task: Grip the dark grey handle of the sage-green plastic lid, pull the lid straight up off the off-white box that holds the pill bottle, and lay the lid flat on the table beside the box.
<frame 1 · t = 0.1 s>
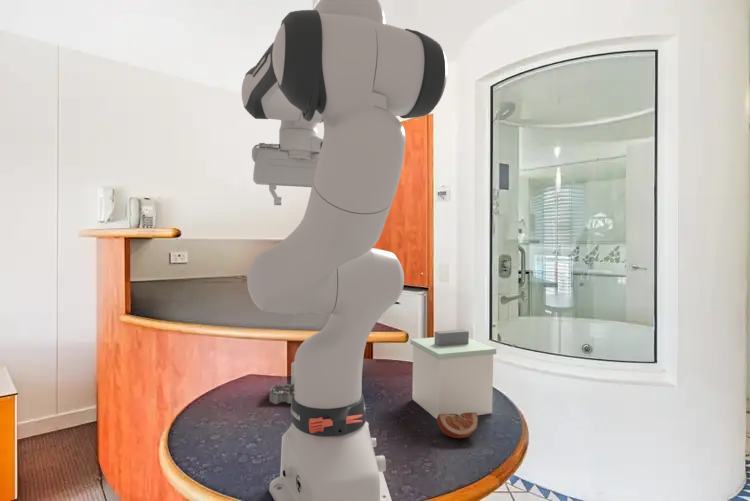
hand: (298, 206, 98), 48 cm above the table, fingers open, 8 cm apart
fruit slice: (457, 438, 87), on the table
lid: (451, 348, 103), point 14 cm above the table, touching box
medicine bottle: (309, 387, 116), on the table
pill bottle: (450, 406, 103), resting in box
box: (450, 405, 103), on the table
egg carton: (291, 400, 107), on the table
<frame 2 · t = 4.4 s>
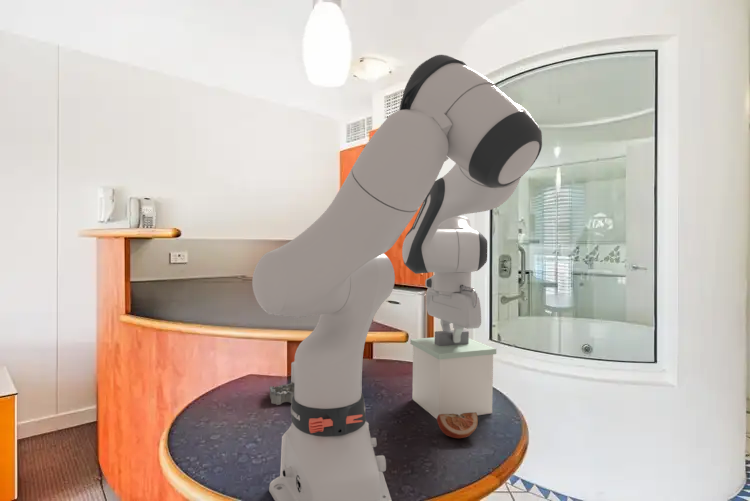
hand: (451, 340, 103), 16 cm above the table, fingers closed on lid, 2 cm apart
lid: (451, 348, 103), point 14 cm above the table, touching box, gripper
when the fingers open (5 cm above the table, at t = 11.6 s): lid drops 1 cm, point 1 cm above the table.
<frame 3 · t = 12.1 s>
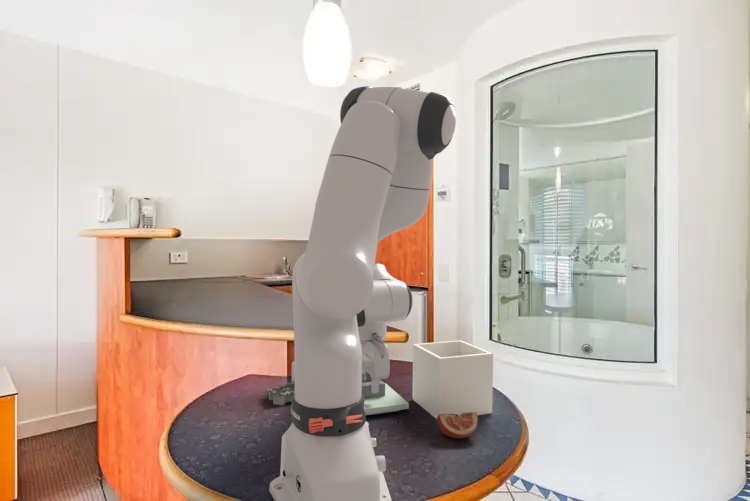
hand: (367, 386, 103), 5 cm above the table, fingers open, 8 cm apart
lid: (367, 400, 103), point 1 cm above the table
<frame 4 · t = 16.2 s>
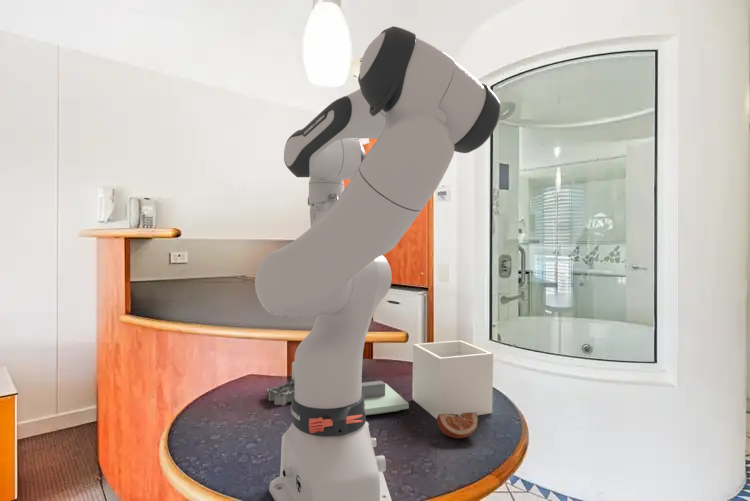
hand: (326, 252, 106), 37 cm above the table, fingers open, 8 cm apart
at the end: lid inside the target area (0.1 cm from its centre), point 1.0 cm above the table; lid tilted 0°; the gripper is holding nothing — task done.
